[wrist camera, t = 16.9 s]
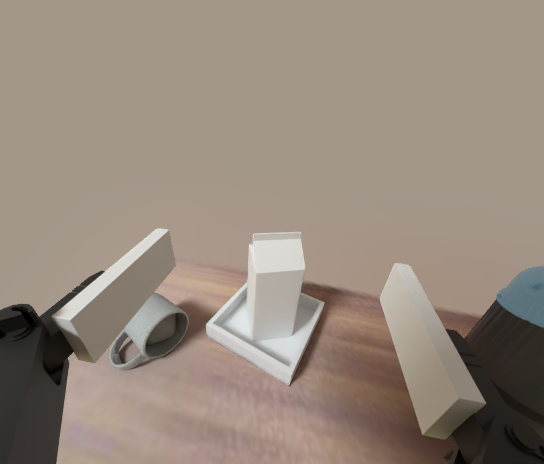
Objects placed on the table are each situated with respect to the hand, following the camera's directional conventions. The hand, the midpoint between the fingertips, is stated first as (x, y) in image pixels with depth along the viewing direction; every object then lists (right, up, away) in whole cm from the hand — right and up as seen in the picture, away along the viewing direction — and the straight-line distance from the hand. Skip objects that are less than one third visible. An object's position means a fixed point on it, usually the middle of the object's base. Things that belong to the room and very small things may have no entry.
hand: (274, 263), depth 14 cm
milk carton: (-1, -15, +29) cm, 32 cm away
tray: (-1, -15, +29) cm, 33 cm away
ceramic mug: (-20, -16, +24) cm, 35 cm away
